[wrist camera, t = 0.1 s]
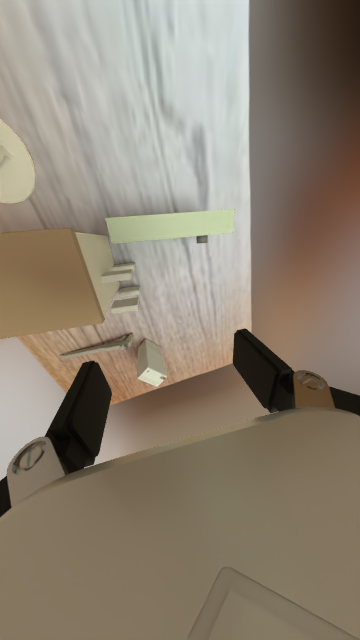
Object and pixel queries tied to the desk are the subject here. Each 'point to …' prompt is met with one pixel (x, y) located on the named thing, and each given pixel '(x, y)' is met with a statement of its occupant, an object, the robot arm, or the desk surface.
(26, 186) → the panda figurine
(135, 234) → the door
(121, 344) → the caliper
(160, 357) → the skincare box
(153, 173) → the desk surface
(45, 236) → the cabinet
